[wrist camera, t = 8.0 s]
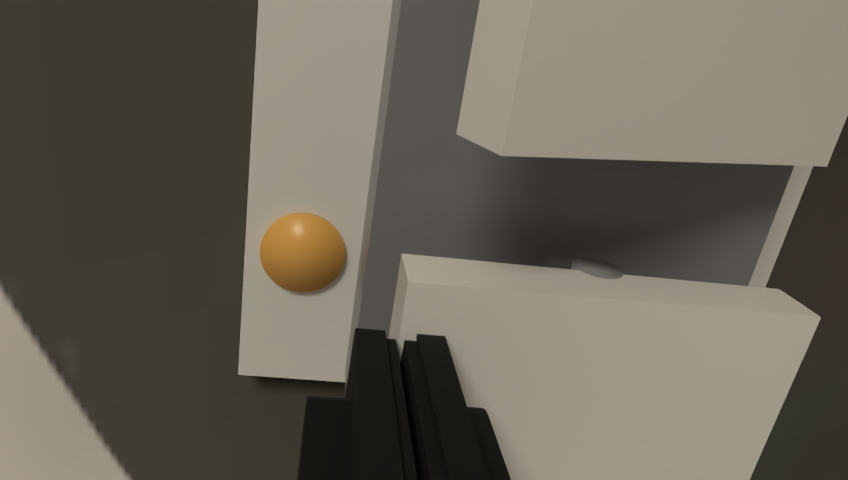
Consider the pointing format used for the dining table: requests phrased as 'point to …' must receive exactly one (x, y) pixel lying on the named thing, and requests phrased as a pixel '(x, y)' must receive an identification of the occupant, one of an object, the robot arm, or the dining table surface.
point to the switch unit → (444, 186)
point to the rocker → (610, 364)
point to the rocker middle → (659, 80)
